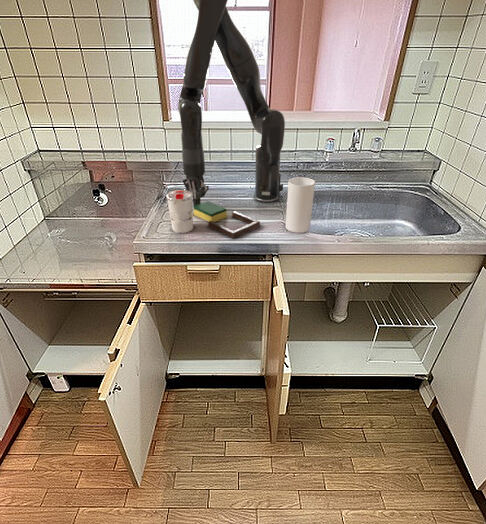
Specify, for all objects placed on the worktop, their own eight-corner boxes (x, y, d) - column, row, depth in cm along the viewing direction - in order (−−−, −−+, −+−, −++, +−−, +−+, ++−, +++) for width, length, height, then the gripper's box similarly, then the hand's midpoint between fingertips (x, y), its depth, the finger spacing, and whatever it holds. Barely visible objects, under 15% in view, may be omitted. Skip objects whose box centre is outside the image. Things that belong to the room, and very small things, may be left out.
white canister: (190, 236, 115) (187, 201, 108) (165, 233, 116) (161, 199, 110) (199, 223, 123) (196, 190, 117) (176, 221, 124) (172, 188, 118)
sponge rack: (235, 216, 127) (234, 211, 126) (259, 226, 120) (259, 221, 119) (208, 227, 120) (208, 221, 119) (233, 239, 113) (233, 233, 112)
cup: (309, 233, 115) (315, 186, 107) (284, 231, 117) (287, 185, 108) (310, 222, 122) (315, 177, 114) (286, 221, 124) (289, 176, 115)
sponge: (208, 209, 133) (208, 200, 131) (226, 217, 127) (226, 208, 125) (194, 214, 129) (193, 206, 127) (211, 223, 123) (211, 214, 121)
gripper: (214, 162, 121) (216, 209, 130) (190, 154, 129) (194, 199, 138) (196, 166, 116) (200, 215, 126) (173, 158, 125) (178, 204, 134)
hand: (197, 206), depth 132 cm, fingers closed
